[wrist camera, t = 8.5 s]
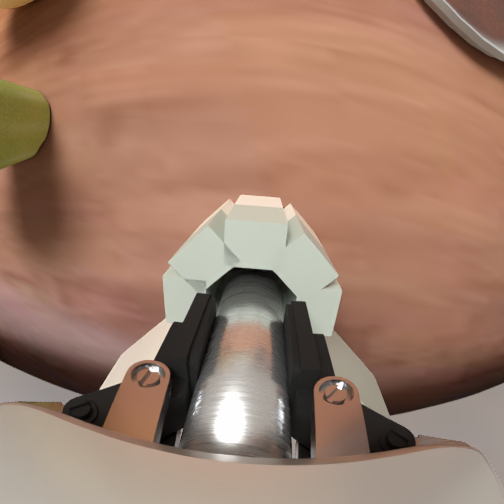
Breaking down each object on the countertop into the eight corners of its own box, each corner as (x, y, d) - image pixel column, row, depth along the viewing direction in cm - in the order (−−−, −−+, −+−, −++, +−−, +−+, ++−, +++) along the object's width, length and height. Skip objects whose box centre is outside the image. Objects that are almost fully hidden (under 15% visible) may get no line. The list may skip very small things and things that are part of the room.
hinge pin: (293, 253, 14) (344, 502, 3) (285, 317, 16) (298, 539, 4) (218, 247, 14) (114, 478, 3) (217, 311, 16) (157, 525, 4)
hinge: (422, 215, 18) (481, 246, 11) (371, 381, 23) (391, 438, 16) (98, 190, 18) (34, 212, 12) (123, 361, 23) (92, 412, 17)
